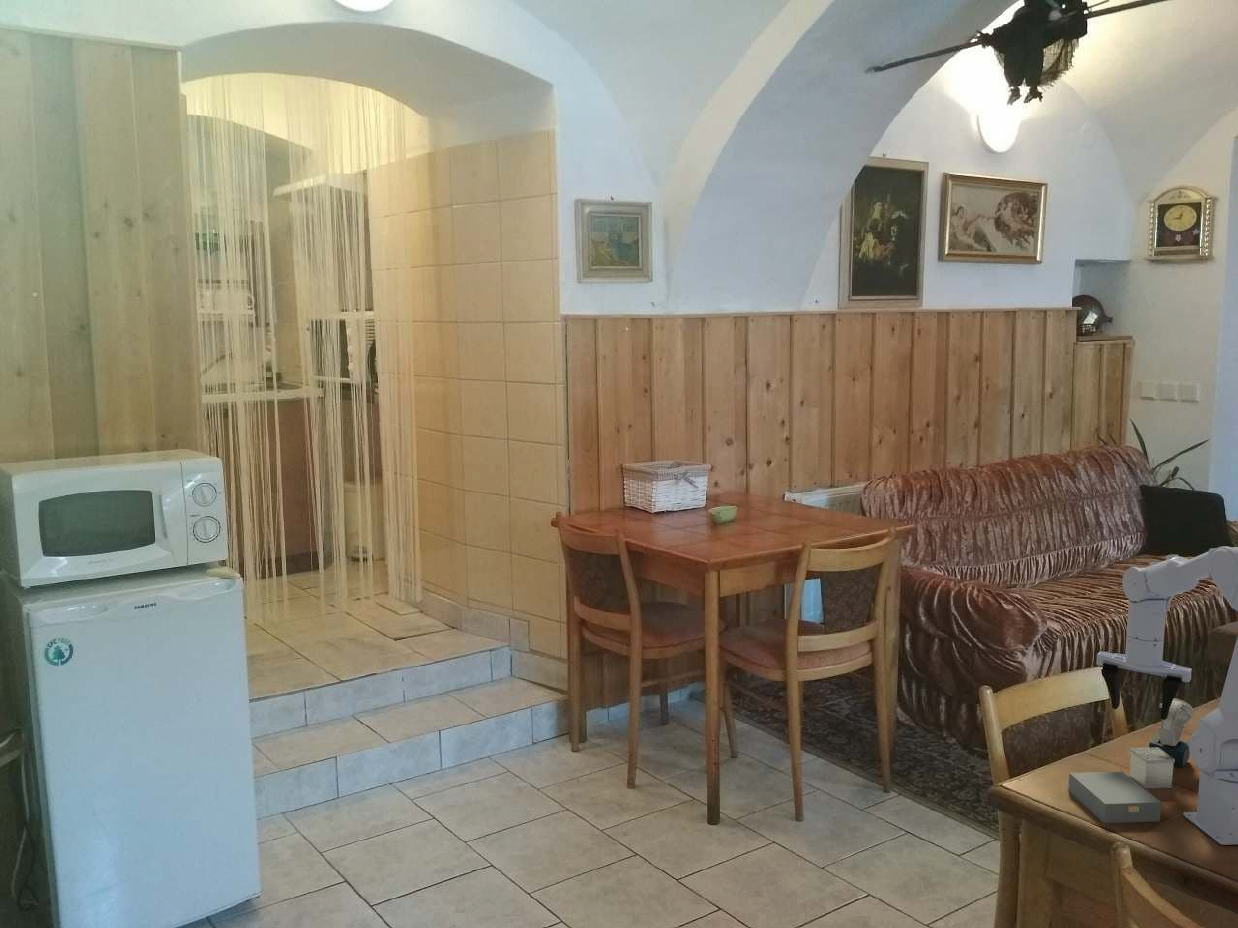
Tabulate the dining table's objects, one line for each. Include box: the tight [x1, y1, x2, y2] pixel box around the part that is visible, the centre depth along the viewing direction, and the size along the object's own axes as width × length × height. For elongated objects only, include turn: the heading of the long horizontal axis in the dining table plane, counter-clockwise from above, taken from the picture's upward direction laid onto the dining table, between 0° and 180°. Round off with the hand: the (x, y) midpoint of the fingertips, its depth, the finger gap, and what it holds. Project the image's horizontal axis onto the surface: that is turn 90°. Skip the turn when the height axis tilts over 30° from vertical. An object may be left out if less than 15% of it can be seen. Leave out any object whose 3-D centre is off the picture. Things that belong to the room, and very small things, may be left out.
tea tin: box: [1129, 747, 1175, 789], centre depth 174 cm, size 5×5×5 cm
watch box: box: [1067, 771, 1162, 824], centre depth 165 cm, size 11×9×4 cm
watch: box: [1148, 697, 1195, 770], centre depth 181 cm, size 6×8×11 cm
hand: (1139, 712), depth 179 cm, fingers open, 7 cm apart
